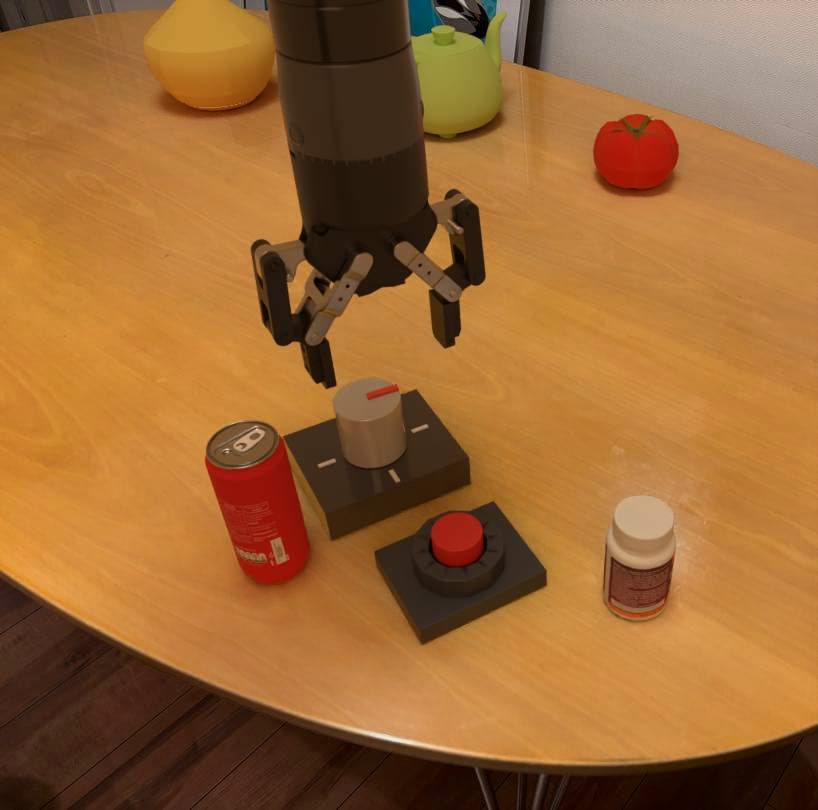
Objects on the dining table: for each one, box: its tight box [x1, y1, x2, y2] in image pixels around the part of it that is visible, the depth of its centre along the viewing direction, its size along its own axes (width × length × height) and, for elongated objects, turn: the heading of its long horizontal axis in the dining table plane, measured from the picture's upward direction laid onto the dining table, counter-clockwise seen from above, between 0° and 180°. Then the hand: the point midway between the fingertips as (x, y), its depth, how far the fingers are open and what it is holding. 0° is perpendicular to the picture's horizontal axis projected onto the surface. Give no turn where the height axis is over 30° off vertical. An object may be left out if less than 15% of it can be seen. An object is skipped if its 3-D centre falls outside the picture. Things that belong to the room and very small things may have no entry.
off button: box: [431, 513, 483, 567], centre depth 62 cm, size 4×4×2 cm
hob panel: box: [282, 388, 472, 541], centre depth 72 cm, size 12×10×3 cm
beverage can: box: [204, 419, 311, 586], centre depth 62 cm, size 5×5×12 cm
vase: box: [142, 0, 276, 112], centre depth 128 cm, size 18×18×19 cm
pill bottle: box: [602, 494, 677, 622], centre depth 61 cm, size 5×5×8 cm
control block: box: [373, 500, 548, 645], centre depth 64 cm, size 10×8×4 cm
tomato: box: [592, 113, 680, 190], centre depth 111 cm, size 11×11×8 cm
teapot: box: [411, 11, 508, 139], centre depth 124 cm, size 22×15×13 cm
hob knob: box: [332, 377, 407, 468], centre depth 69 cm, size 5×5×5 cm
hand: (386, 361), depth 59 cm, fingers open, 8 cm apart
